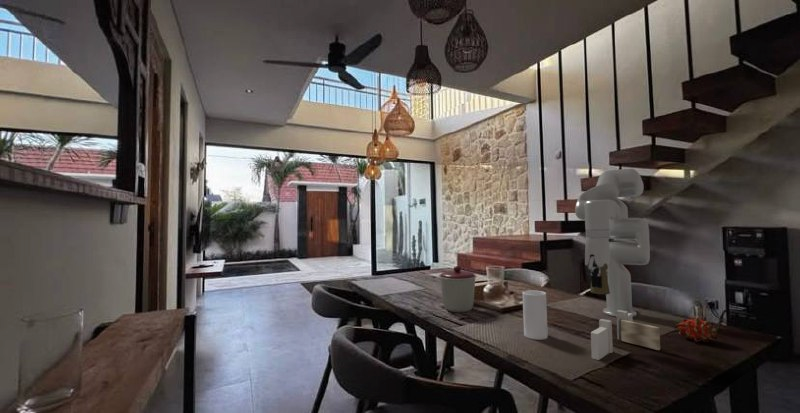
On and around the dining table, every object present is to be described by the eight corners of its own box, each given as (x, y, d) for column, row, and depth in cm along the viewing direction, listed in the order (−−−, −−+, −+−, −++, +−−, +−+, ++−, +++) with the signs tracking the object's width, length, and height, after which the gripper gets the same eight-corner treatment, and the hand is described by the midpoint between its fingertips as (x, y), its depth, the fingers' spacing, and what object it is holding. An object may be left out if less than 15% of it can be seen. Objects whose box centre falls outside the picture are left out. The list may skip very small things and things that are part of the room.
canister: (450, 303, 177) (449, 262, 178) (483, 307, 167) (482, 264, 167) (432, 311, 163) (431, 267, 163) (468, 317, 152) (466, 269, 153)
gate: (618, 339, 120) (617, 319, 120) (621, 338, 121) (620, 318, 121) (658, 350, 110) (657, 328, 110) (661, 348, 111) (660, 326, 111)
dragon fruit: (724, 350, 114) (678, 347, 121) (718, 329, 119) (675, 327, 127) (720, 333, 110) (673, 331, 118) (714, 312, 116) (670, 312, 124)
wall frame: (625, 333, 127) (624, 306, 127) (634, 335, 124) (633, 308, 124) (590, 357, 107) (588, 325, 107) (600, 360, 105) (599, 327, 105)
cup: (529, 330, 133) (528, 289, 134) (551, 335, 127) (549, 292, 128) (520, 336, 127) (518, 292, 128) (542, 341, 122) (540, 296, 122)
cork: (612, 294, 117) (611, 262, 118) (593, 294, 119) (592, 262, 119) (606, 290, 123) (605, 260, 123) (588, 290, 125) (586, 260, 125)
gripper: (596, 233, 129) (598, 281, 129) (575, 235, 119) (577, 288, 119) (618, 233, 123) (621, 284, 123) (598, 236, 113) (600, 291, 113)
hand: (599, 285), depth 121 cm, fingers closed on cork, 4 cm apart
